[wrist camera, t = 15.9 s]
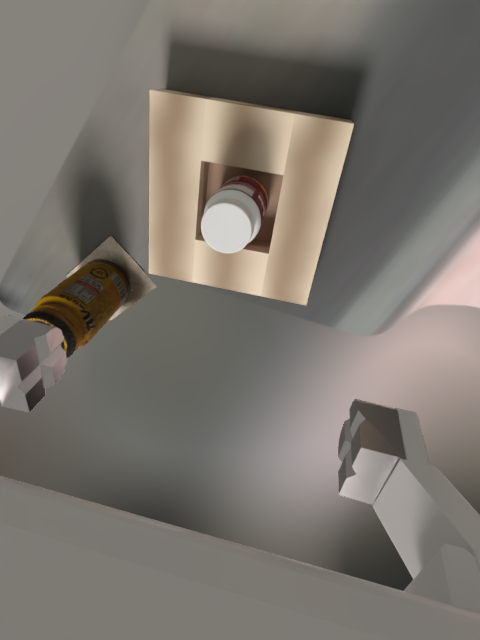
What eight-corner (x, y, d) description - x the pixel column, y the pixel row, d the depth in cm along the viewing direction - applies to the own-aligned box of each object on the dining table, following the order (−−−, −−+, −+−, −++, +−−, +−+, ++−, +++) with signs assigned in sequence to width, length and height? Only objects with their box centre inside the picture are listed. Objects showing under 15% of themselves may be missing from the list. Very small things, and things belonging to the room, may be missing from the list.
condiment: (66, 275, 45) (-6, 330, 35) (111, 234, 41) (45, 283, 31) (111, 319, 48) (56, 383, 37) (157, 285, 44) (109, 345, 34)
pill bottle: (264, 229, 37) (251, 263, 30) (216, 220, 38) (193, 252, 31) (273, 179, 35) (262, 204, 28) (222, 169, 35) (198, 192, 28)
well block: (350, 119, 32) (354, 123, 29) (307, 287, 41) (306, 305, 37) (166, 88, 33) (149, 89, 30) (161, 258, 42) (148, 273, 39)
